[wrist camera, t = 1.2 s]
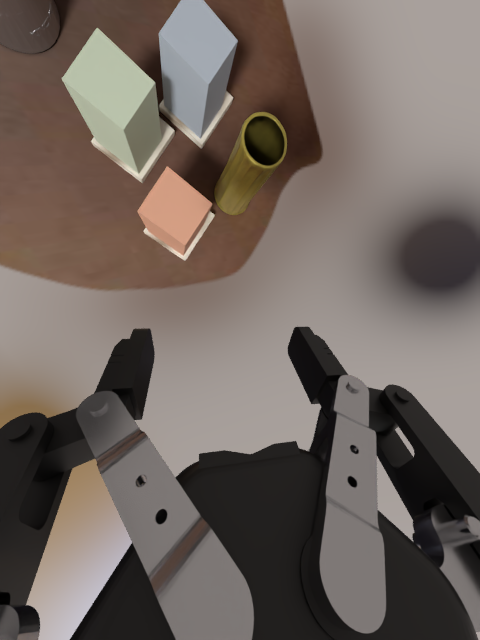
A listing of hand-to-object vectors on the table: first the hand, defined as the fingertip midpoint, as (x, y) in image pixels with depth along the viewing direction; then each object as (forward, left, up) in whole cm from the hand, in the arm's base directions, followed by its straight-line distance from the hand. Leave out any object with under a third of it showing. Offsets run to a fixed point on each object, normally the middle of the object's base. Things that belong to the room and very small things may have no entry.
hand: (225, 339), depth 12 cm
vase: (-4, +19, -26) cm, 32 cm away
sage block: (-20, +15, -25) cm, 35 cm away
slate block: (-16, +25, -25) cm, 38 cm away
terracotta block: (-9, +9, -25) cm, 27 cm away
